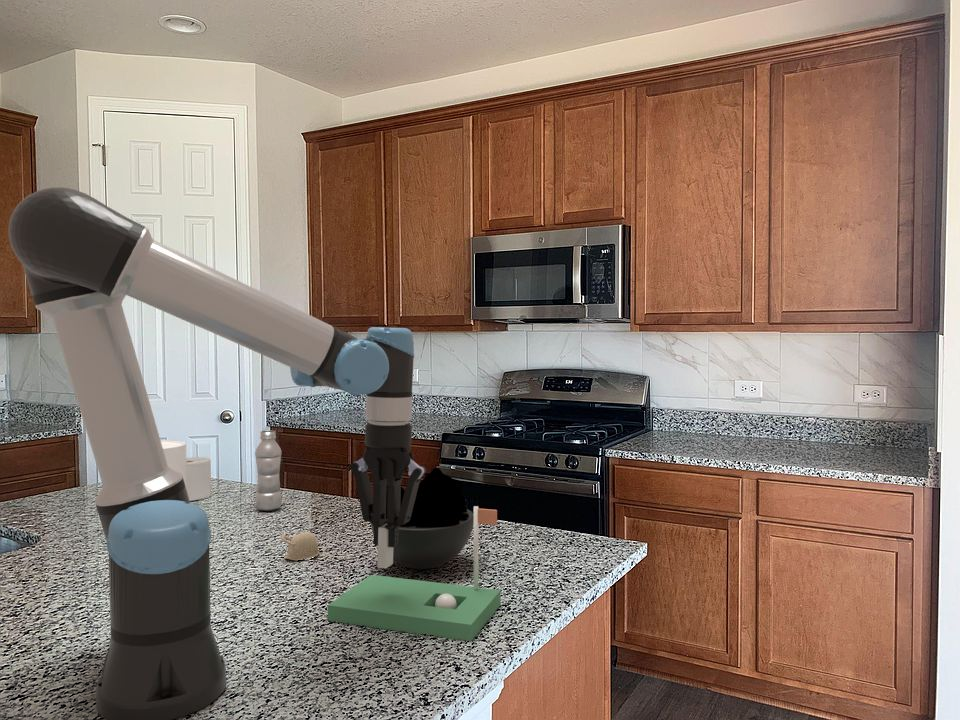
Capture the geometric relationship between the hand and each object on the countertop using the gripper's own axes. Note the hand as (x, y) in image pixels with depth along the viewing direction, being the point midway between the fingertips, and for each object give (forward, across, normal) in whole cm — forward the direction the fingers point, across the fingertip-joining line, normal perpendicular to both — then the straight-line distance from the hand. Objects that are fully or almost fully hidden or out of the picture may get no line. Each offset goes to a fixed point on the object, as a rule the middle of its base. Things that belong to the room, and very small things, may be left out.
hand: (385, 565), depth 121 cm
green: (+7, -6, -1) cm, 9 cm away
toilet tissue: (+8, +85, -55) cm, 101 cm away
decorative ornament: (+8, +28, -19) cm, 35 cm away
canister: (+9, +69, -24) cm, 73 cm away
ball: (+5, -10, -1) cm, 12 cm away
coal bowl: (+7, +3, -22) cm, 23 cm away
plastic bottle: (+8, +57, -50) cm, 76 cm away
